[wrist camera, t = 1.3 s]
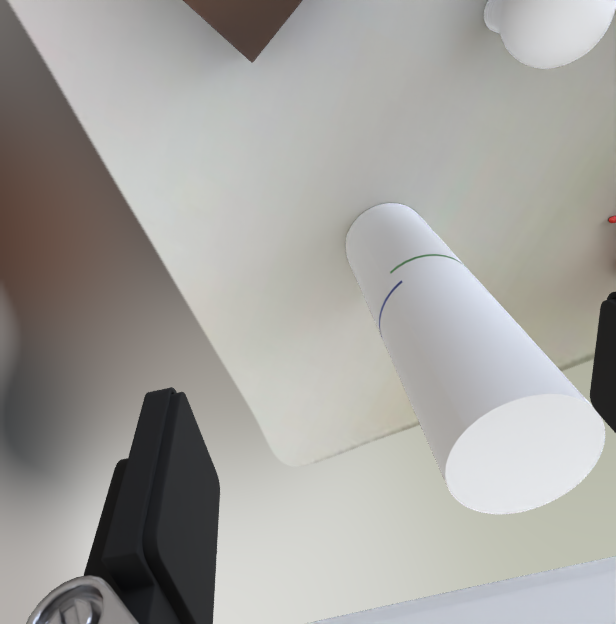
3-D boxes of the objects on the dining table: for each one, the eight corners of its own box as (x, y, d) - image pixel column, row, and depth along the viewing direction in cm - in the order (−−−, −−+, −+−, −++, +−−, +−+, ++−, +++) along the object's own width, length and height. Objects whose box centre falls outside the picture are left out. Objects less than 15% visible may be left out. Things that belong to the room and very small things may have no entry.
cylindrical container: (328, 255, 44) (411, 483, 22) (379, 186, 41) (529, 366, 20) (392, 294, 46) (521, 531, 25) (443, 231, 44) (638, 434, 22)
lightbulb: (439, -1, 35) (511, -10, 26) (518, -63, 34) (625, -95, 25) (476, 77, 38) (553, 96, 29) (551, 23, 37) (657, 24, 27)
